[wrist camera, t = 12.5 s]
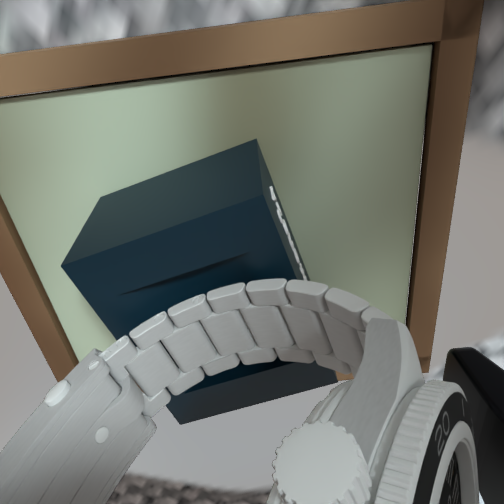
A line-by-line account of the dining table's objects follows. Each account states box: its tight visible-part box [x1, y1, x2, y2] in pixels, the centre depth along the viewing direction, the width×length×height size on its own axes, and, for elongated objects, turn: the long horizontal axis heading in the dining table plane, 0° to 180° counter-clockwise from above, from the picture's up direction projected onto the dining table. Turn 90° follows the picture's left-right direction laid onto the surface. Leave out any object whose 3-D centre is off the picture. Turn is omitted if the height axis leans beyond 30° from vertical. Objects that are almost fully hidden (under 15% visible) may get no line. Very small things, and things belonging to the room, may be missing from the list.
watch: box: [0, 139, 479, 504], centre depth 8 cm, size 6×8×11 cm
